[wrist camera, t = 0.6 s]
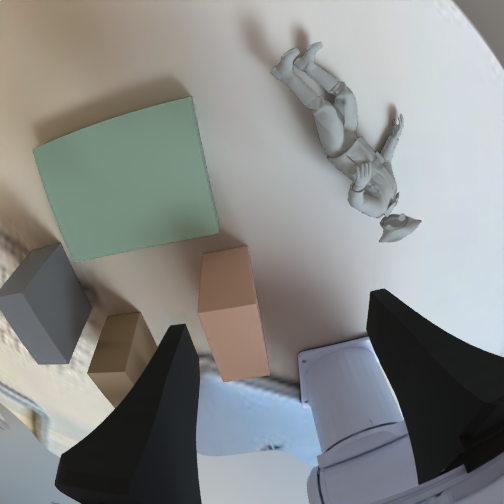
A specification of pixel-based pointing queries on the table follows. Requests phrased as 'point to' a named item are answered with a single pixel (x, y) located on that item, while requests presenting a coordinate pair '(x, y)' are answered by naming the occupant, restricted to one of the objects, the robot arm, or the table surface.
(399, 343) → the robot arm
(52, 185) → the sage board
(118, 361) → the walnut brick
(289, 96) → the table surface
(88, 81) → the table surface
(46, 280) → the charcoal brick
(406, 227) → the soldier figure
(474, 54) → the table surface
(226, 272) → the terracotta brick
